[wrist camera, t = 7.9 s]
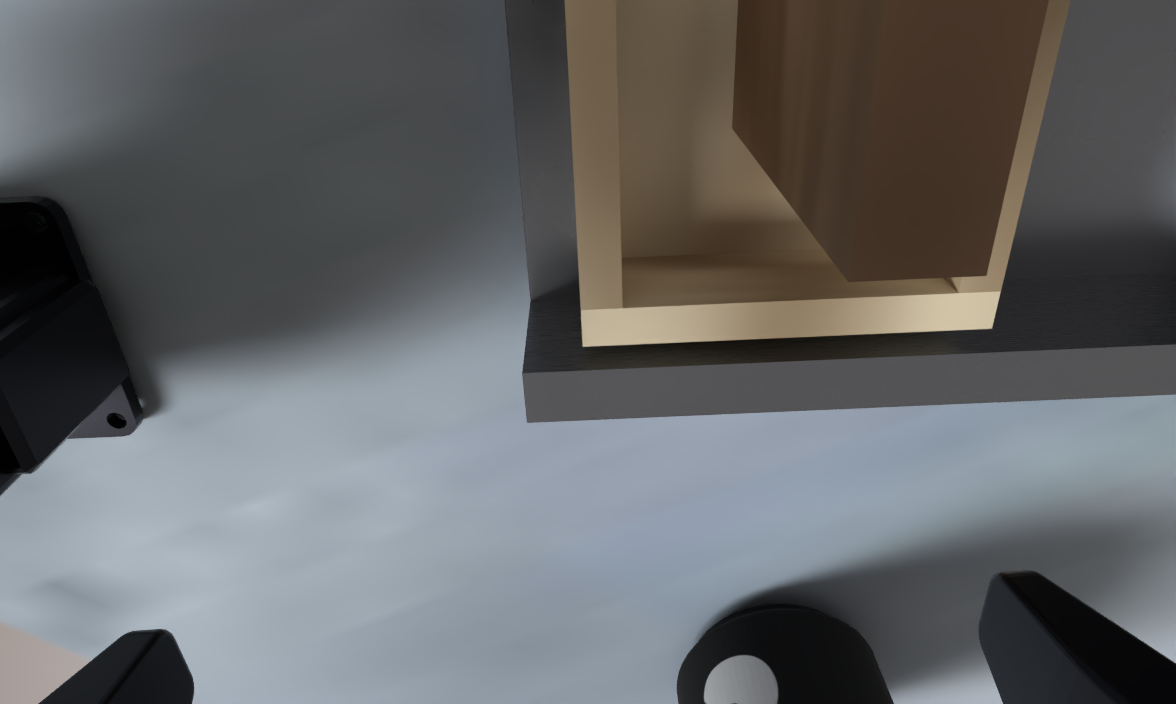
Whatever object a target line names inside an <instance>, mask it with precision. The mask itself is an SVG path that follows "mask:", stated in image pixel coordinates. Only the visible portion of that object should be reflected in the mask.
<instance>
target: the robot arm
mask: <svg viewBox="0 0 1176 704" xmlns="http://www.w3.org/2000/svg"><path fill="white" fill-rule="evenodd" d="M34 213H38V214H39V215H41V216H42V217H43V218H44V219H45V220H46V222H47V227H45V226H43V225H41V224H40V223H38V221H37V220H36V218H35V215H34ZM128 374H129V369H128V367H127V364H126V361H125V359H124V356H123V354H122V351H121V348H120V346H119V343H118V341H117V338H116V335H115V333H114V330H113V328H112V325H111V322H110V320H109V317H108V315H107V312H106V309H105V307H104V304H103V302H102V299H101V296H100V294H99V291H98V289H97V288H96V287H95V285H94V284H93V282H92V279H91V277H90V274H89V271H88V269H87V266H86V264H85V261H84V258H83V256H82V253H81V251H80V248H79V246H78V243H77V240H76V238H75V235H74V233H73V230H72V227H71V225H70V222H69V220H68V217H67V215H66V213H65V212H64V210H63V208H62V207H61V206H59V205H58V204H57V203H56V202H55V201H53V200H51V199H49V198H47V197H39V196H32V197H10V198H0V496H1V495H2V494H3V493H4V492H5V491H6V490H7V489H8V488H9V487H10V486H11V485H12V484H13V483H14V482H15V481H16V480H17V479H18V478H19V477H20V476H21V475H22V474H31V473H33V472H34V471H36V470H37V469H38V468H39V467H40V466H41V465H42V464H43V463H44V462H45V461H46V460H47V459H48V458H49V457H50V456H51V455H52V454H53V453H54V452H55V451H56V450H57V448H58V447H59V446H60V445H61V444H62V443H63V442H64V441H65V440H66V439H72V438H95V437H117V436H126V435H130V434H131V433H133V432H134V431H135V430H136V429H137V427H138V426H139V425H140V424H141V423H142V420H143V418H144V417H143V411H142V409H141V406H140V403H139V401H138V398H137V396H136V393H135V390H134V388H133V385H132V383H131V380H130V377H129V375H128ZM115 413H119V414H120V415H122V416H123V417H124V418H125V419H126V420H122V419H120V418H119V417H117V415H116V414H115ZM979 638H980V643H981V646H982V649H983V652H984V655H985V657H986V660H987V662H988V665H989V668H990V670H991V673H992V675H993V678H994V681H995V683H996V686H997V689H998V691H999V694H1000V696H1001V699H1002V702H1003V704H1176V663H1174V662H1173V661H1171V660H1170V659H1168V658H1167V657H1165V656H1164V655H1162V654H1161V653H1159V652H1158V651H1156V650H1155V649H1153V648H1152V647H1150V646H1149V645H1147V644H1146V643H1144V642H1143V641H1141V640H1140V639H1138V638H1137V637H1135V636H1134V635H1132V634H1131V633H1129V632H1127V631H1126V630H1124V629H1123V628H1121V627H1120V626H1118V625H1117V624H1115V623H1114V622H1112V621H1111V620H1109V619H1108V618H1106V617H1105V616H1103V615H1102V614H1100V613H1099V612H1097V611H1096V610H1094V609H1093V608H1091V607H1090V606H1088V605H1087V604H1085V603H1084V602H1082V601H1081V600H1079V599H1078V598H1076V597H1075V596H1073V595H1072V594H1070V593H1069V592H1067V591H1066V590H1064V589H1062V588H1061V587H1059V586H1058V585H1056V584H1055V583H1053V582H1052V581H1050V580H1049V579H1047V578H1046V577H1044V576H1043V575H1041V574H1039V573H1037V572H1035V571H1030V570H1024V571H1009V572H999V573H996V574H995V575H994V576H993V577H992V578H991V580H990V583H989V587H988V591H987V595H986V598H985V602H984V606H983V610H982V614H981V618H980V621H979ZM193 696H194V682H193V677H192V675H191V672H190V670H189V668H188V666H187V664H186V662H185V659H184V657H183V655H182V653H181V651H180V649H179V647H178V645H177V642H176V640H175V638H174V636H173V635H172V634H171V633H170V632H169V631H167V630H164V629H154V630H139V631H132V632H129V633H126V634H125V635H123V636H122V637H120V638H119V639H117V640H116V641H115V642H114V643H113V644H111V645H110V646H109V647H108V648H106V649H105V650H104V651H103V652H101V653H100V654H99V655H98V656H97V657H95V658H94V659H93V660H92V661H90V662H89V663H88V664H87V665H86V666H84V667H83V668H82V669H81V670H79V671H78V672H77V673H76V674H75V675H73V676H72V677H71V678H70V679H68V680H67V681H66V682H65V683H63V684H62V685H61V686H60V687H59V688H57V689H56V690H55V691H54V692H52V693H51V694H50V695H49V696H48V697H46V698H45V699H44V700H42V701H41V702H40V703H39V704H192V701H193Z"/></svg>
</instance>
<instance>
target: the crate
mask: <svg viewBox="0 0 1176 704" xmlns="http://www.w3.org/2000/svg"><path fill="white" fill-rule="evenodd" d="M1070 1H1071V0H565V18H566V37H567V56H568V75H569V95H570V114H571V133H572V152H573V171H574V191H575V210H576V229H577V248H578V267H579V287H580V306H581V325H582V344H583V347H590V346H613V345H635V344H658V343H680V342H703V341H725V340H748V339H770V338H793V337H816V336H838V335H861V334H883V333H906V332H928V331H951V330H973V329H992V326H993V322H994V318H995V314H996V310H997V306H998V301H999V297H1000V293H1001V289H1002V285H1003V280H1004V276H1005V272H1006V268H1007V264H1008V260H1009V255H1010V251H1011V247H1012V243H1013V239H1014V235H1015V230H1016V226H1017V222H1018V218H1019V214H1020V209H1021V205H1022V201H1023V197H1024V193H1025V189H1026V184H1027V180H1028V176H1029V172H1030V168H1031V163H1032V159H1033V155H1034V151H1035V147H1036V143H1037V138H1038V134H1039V130H1040V126H1041V122H1042V118H1043V113H1044V109H1045V105H1046V101H1047V97H1048V92H1049V88H1050V84H1051V80H1052V76H1053V72H1054V67H1055V63H1056V59H1057V55H1058V51H1059V46H1060V42H1061V38H1062V34H1063V30H1064V26H1065V21H1066V17H1067V13H1068V9H1069V5H1070Z"/></svg>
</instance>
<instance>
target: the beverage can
mask: <svg viewBox="0 0 1176 704" xmlns="http://www.w3.org/2000/svg"><path fill="white" fill-rule="evenodd" d="M677 695H678V703H679V704H894V703H893V701H892V698H891V696H890V693H889V691H888V688H887V686H886V683H885V681H884V678H883V676H882V674H881V671H880V669H879V666H878V664H877V661H876V659H875V656H874V654H873V652H872V650H871V648H870V646H869V644H868V643H867V642H866V640H865V639H864V638H863V637H862V636H861V635H860V634H859V633H858V632H857V631H856V630H855V629H853V628H852V627H850V626H849V625H848V624H846V623H844V622H842V621H840V620H838V619H836V618H833V617H830V616H828V615H826V614H824V613H822V612H820V611H817V610H814V609H811V608H807V607H803V606H796V605H786V604H776V605H766V606H759V607H754V608H750V609H746V610H744V611H741V612H738V613H735V614H733V615H731V616H729V617H727V618H725V619H723V620H722V621H720V622H719V623H717V624H716V625H714V626H713V627H712V628H711V629H709V630H708V631H707V632H706V633H705V634H704V635H703V636H702V637H701V639H700V640H699V641H698V643H697V644H696V645H695V646H694V647H693V649H692V650H691V651H690V652H689V653H688V655H687V656H686V658H685V660H684V661H683V663H682V666H681V668H680V671H679V675H678V680H677Z"/></svg>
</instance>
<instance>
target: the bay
mask: <svg viewBox="0 0 1176 704" xmlns="http://www.w3.org/2000/svg"><path fill="white" fill-rule="evenodd" d="M505 10H506V21H507V33H508V44H509V56H510V68H511V79H512V91H513V102H514V114H515V125H516V137H517V148H518V160H519V171H520V183H521V195H522V206H523V218H524V229H525V241H526V252H527V264H528V275H529V287H530V299H531V302H530V311H529V320H528V328H527V337H526V346H525V354H524V363H523V372H522V375H523V385H524V396H525V406H526V416H527V423H532V422H555V421H578V420H600V419H623V418H646V417H669V416H692V415H715V414H738V413H761V412H784V411H807V410H830V409H853V408H875V407H898V406H921V405H944V404H967V403H990V402H1013V401H1036V400H1059V399H1082V398H1105V397H1127V396H1150V395H1173V394H1176V0H1071V1H1070V5H1069V9H1068V13H1067V17H1066V21H1065V26H1064V30H1063V34H1062V38H1061V42H1060V46H1059V51H1058V55H1057V59H1056V63H1055V67H1054V72H1053V76H1052V80H1051V84H1050V88H1049V92H1048V97H1047V101H1046V105H1045V109H1044V113H1043V118H1042V122H1041V126H1040V130H1039V134H1038V138H1037V143H1036V147H1035V151H1034V155H1033V159H1032V163H1031V168H1030V172H1029V176H1028V180H1027V184H1026V189H1025V193H1024V197H1023V201H1022V205H1021V209H1020V214H1019V218H1018V222H1017V226H1016V230H1015V235H1014V239H1013V243H1012V247H1011V251H1010V255H1009V260H1008V264H1007V268H1006V272H1005V276H1004V280H1003V285H1002V289H1001V293H1000V297H999V301H998V306H997V310H996V314H995V318H994V322H993V326H992V329H973V330H951V331H928V332H906V333H883V334H861V335H838V336H816V337H793V338H770V339H748V340H725V341H703V342H680V343H658V344H635V345H613V346H590V347H583V344H582V325H581V306H580V287H579V267H578V248H577V229H576V210H575V191H574V171H573V152H572V133H571V114H570V95H569V75H568V56H567V37H566V18H565V0H505Z"/></svg>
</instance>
